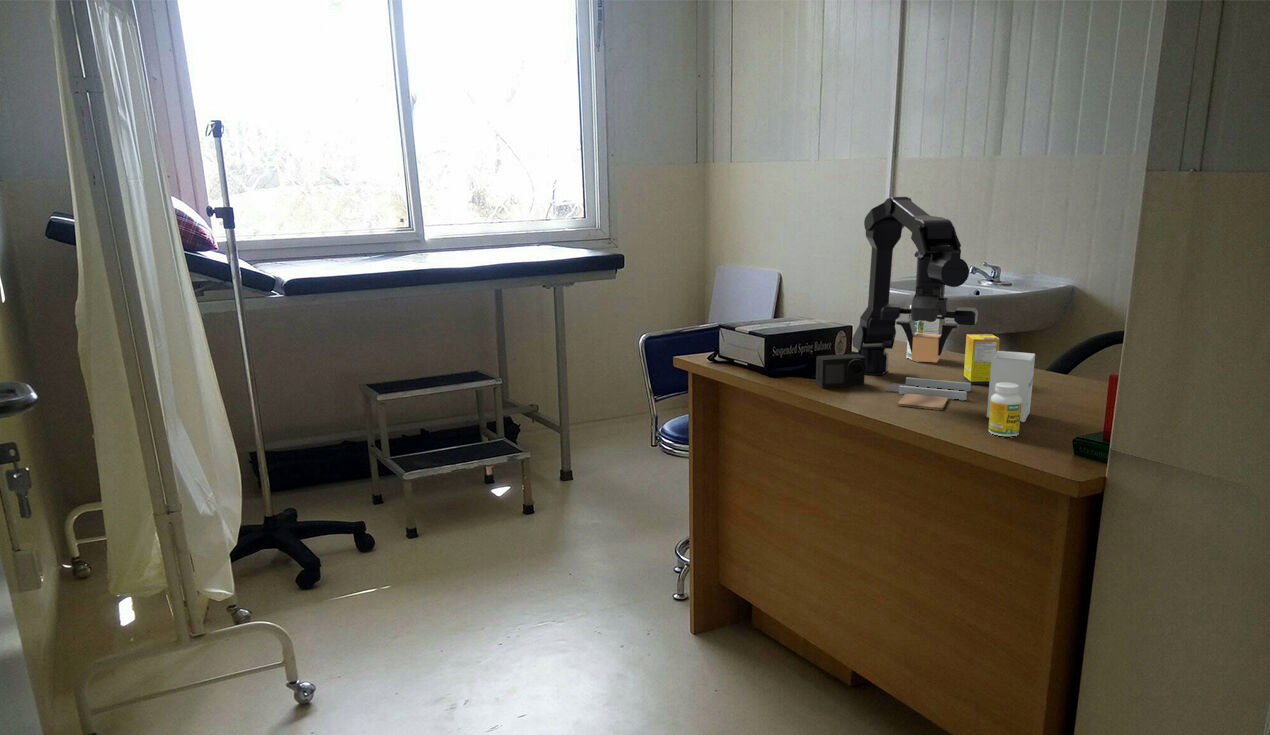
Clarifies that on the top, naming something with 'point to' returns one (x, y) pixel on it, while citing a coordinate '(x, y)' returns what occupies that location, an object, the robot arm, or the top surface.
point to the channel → (936, 384)
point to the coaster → (923, 401)
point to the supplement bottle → (1005, 410)
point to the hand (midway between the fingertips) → (926, 354)
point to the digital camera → (840, 370)
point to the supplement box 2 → (1013, 376)
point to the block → (925, 347)
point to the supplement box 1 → (979, 357)
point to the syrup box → (923, 331)
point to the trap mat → (896, 387)
